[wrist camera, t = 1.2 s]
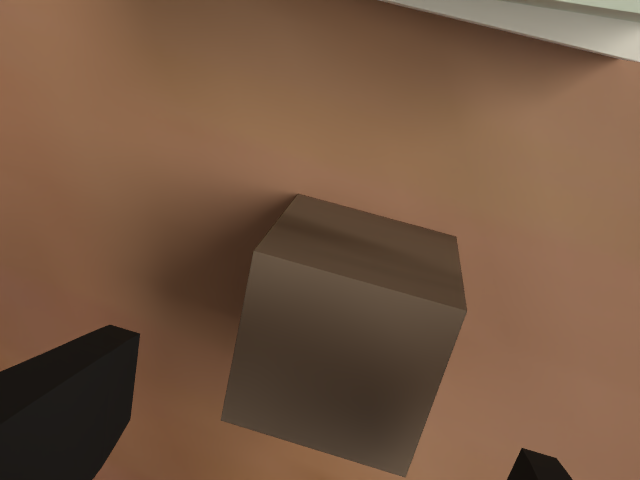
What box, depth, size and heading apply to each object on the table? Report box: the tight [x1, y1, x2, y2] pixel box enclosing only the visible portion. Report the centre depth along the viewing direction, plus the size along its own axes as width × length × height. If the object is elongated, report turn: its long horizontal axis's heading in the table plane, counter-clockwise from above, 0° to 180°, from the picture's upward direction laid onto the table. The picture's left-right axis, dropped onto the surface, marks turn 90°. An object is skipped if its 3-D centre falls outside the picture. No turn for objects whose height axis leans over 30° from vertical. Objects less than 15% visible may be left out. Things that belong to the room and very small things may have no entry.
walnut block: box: [221, 194, 467, 477], centre depth 14 cm, size 4×4×4 cm
